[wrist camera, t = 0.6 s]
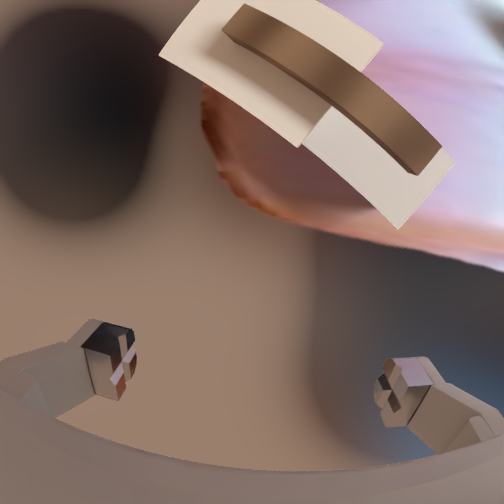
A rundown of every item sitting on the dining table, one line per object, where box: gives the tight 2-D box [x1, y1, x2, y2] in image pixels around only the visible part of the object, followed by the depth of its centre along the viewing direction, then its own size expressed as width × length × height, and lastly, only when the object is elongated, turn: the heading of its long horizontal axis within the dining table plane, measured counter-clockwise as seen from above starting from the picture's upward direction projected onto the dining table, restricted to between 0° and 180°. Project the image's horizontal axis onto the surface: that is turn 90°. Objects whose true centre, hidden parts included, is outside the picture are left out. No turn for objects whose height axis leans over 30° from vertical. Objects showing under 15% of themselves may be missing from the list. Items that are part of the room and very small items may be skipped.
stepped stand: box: [159, 0, 455, 229], centre depth 32 cm, size 31×12×28 cm, turn 53°
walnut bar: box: [221, 3, 442, 176], centre depth 18 cm, size 18×3×3 cm, turn 53°
